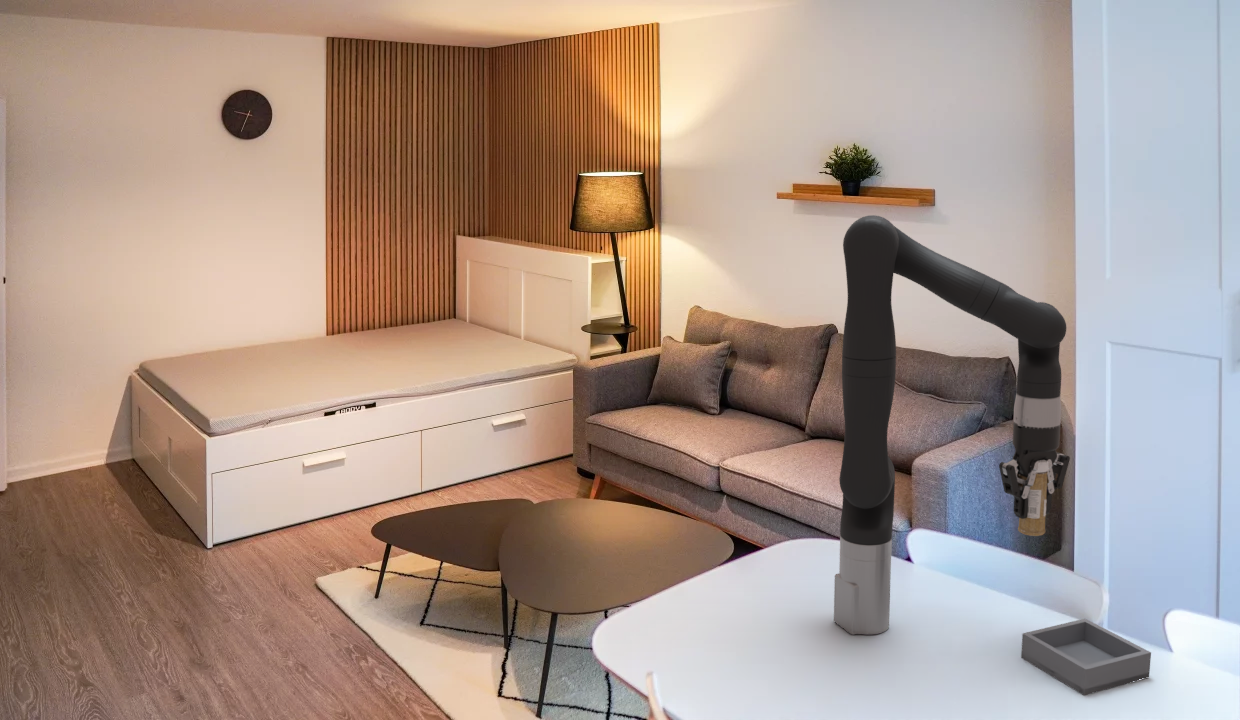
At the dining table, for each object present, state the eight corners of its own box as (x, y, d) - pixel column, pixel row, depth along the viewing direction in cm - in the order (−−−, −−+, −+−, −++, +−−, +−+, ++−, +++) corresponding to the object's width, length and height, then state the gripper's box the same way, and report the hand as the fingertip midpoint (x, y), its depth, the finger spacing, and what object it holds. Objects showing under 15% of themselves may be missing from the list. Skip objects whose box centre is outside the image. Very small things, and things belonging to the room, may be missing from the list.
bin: (1083, 695, 169) (1085, 669, 168) (1021, 657, 182) (1022, 633, 181) (1149, 677, 174) (1151, 652, 173) (1083, 642, 187) (1085, 618, 186)
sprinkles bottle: (1050, 533, 184) (1054, 458, 181) (1034, 538, 181) (1038, 463, 178) (1027, 525, 187) (1031, 453, 185) (1011, 531, 185) (1015, 457, 182)
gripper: (1052, 410, 186) (1047, 502, 190) (988, 420, 181) (984, 514, 184) (1085, 419, 179) (1080, 515, 183) (1020, 430, 174) (1015, 528, 177)
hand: (1032, 514), depth 183 cm, fingers closed on sprinkles bottle, 4 cm apart
